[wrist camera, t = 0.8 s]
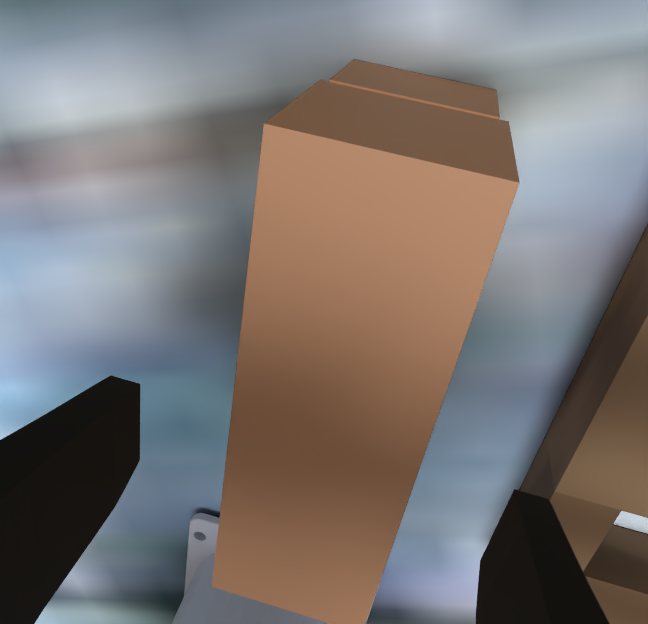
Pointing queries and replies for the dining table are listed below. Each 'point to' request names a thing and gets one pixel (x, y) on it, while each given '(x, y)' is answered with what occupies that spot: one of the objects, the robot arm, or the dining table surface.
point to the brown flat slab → (606, 452)
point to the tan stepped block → (353, 325)
